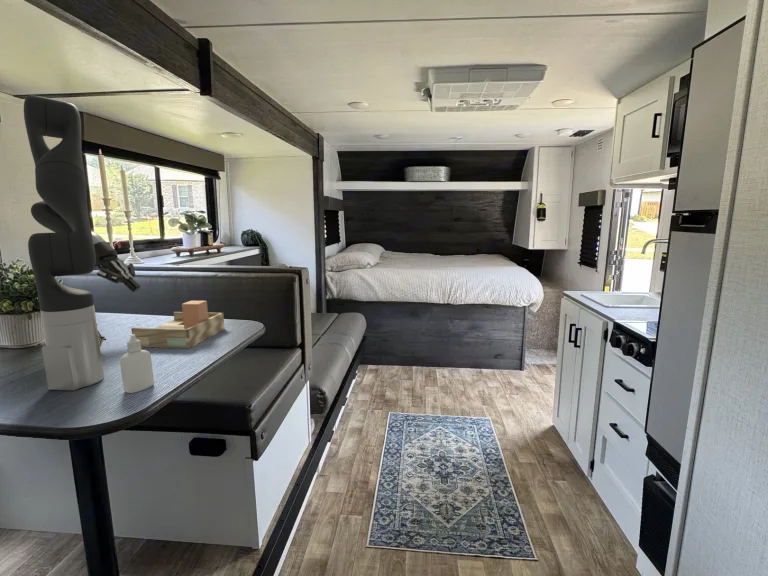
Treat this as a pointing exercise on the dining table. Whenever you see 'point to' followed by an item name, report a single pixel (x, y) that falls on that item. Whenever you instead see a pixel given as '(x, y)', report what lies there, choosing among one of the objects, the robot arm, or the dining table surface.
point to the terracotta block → (194, 313)
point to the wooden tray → (179, 332)
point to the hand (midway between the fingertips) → (137, 289)
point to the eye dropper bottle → (136, 367)
